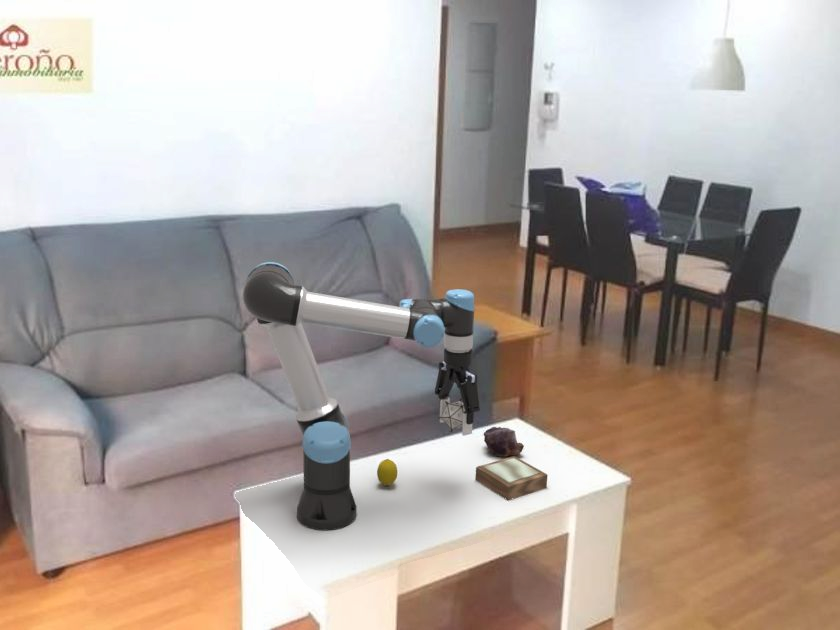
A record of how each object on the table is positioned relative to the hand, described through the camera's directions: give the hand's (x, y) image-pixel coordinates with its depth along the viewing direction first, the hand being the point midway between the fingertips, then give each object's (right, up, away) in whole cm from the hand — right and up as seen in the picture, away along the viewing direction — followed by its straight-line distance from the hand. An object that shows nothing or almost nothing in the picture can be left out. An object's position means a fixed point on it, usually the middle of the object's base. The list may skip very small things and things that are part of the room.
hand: (455, 427), depth 232 cm
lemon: (-19, -17, +5) cm, 26 cm away
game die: (0, 0, 0) cm, 1 cm away
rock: (+15, -12, +27) cm, 33 cm away
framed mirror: (+16, -17, +8) cm, 24 cm away
